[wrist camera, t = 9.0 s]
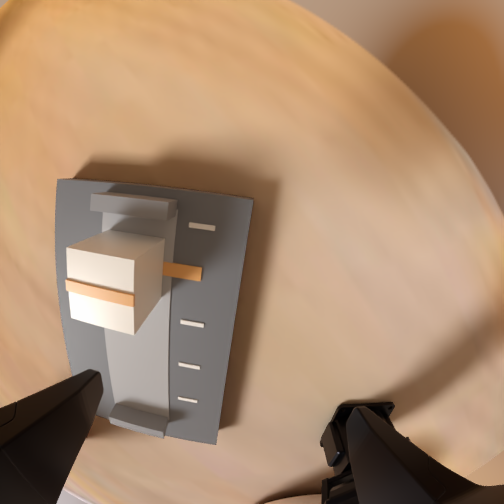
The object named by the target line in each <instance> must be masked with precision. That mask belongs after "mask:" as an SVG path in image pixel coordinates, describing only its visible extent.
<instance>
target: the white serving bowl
mask: <svg viewBox="0 0 504 504" xmlns="http://www.w3.org/2000/svg"><path fill="white" fill-rule="evenodd" d="M321 495H322V494H312V495H302V496H295V497H289V498H284V499H279V500H274V501H271V502H267V503H264V504H321Z"/></svg>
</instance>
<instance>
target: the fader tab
mask: <svg viewBox="0 0 504 504" xmlns="http://www.w3.org/2000/svg"><path fill="white" fill-rule="evenodd" d="M164 246H165V238H160V237H153V236H147V235H140V234H134V233H127V232H121V231H114V230H107V231H105V232H102V233H100V234H97V235H95V236H92V237H90V238H87V239H85V240H83V241H80V242H78V243H75V244H73V245H71V246H68V247H66V256H67V278H68V279H66V280H65V282H66V291H69V302H70V311H71V318H73V319H76V320H80V321H83V322H86V323H90V324H93V325H97V326H100V327H104V328H108V329H111V330H115V331H119V332H123V333H127V334H131V335H135V334H136V332H137V331H138V330H139V328H140V327H141V325H142V324H143V322H144V321H145V320H146V318H147V317H148V315H149V314H150V313H151V311H152V310H153V308H154V307H155V306H156V304H157V303H158V302H159V300H160V299H161V294H162V275H163V259H164Z"/></svg>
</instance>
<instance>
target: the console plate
mask: <svg viewBox="0 0 504 504" xmlns="http://www.w3.org/2000/svg"><path fill="white" fill-rule="evenodd" d="M252 207H253V198H248V197H241V196H235V195H228V194H221V193H214V192H206V191H199V190H191V189H183V188H174V187H166V186H157V185H147V184H137V183H126V182H115V181H103V180H89V179H74V178H70V179H57V191H56V209H55V256H56V274H57V287H58V297H59V306H60V313H61V321H62V327H63V333H64V339H65V344H66V349H67V354H68V359H69V364H70V368H71V372H72V376H74V375H77V374H79V373H81V372H83V371H85V370H87V369H94V370H97V371H99V372H100V373H101V377H102V382H103V388H104V392H103V395H102V398H101V401H100V404H99V406H98V409H97V412H96V415H97V416H100V417H103V418H106V419H109V420H110V424H113V425H116V426H120V427H123V428H126V429H129V430H133V431H136V432H140V433H143V434H147V435H151V436H155V437H159V438H163V439H164V436H170V437H174V438H179V439H184V440H189V441H195V442H201V443H207V444H213V445H216V443H217V436H218V429H219V422H220V415H221V408H222V401H223V395H224V388H225V381H226V375H227V368H228V361H229V355H230V348H231V341H232V335H233V328H234V322H235V315H236V309H237V302H238V296H239V289H240V283H241V276H242V270H243V263H244V257H245V251H246V244H247V238H248V232H249V225H250V219H251V213H252ZM107 230H114V231H121V232H127V233H134V234H140V235H147V236H153V237H160V238H165V246H164V259H163V275H162V294H161V299H160V300H159V302H158V303H157V304H156V306H155V307H154V308H153V310H152V311H151V313H150V314H149V315H148V317H147V318H146V320H145V321H144V322H143V324H142V325H141V327H140V328H139V330H138V331H137V332H136V334H135V335H131V334H127V333H123V332H119V331H115V330H111V329H108V328H104V327H100V326H97V325H93V324H90V323H86V322H83V321H80V320H76V319H73V318H71V311H70V302H69V291H66V282H65V280H66V279H68V278H67V256H66V247H68V246H71V245H73V244H75V243H78V242H80V241H83V240H85V239H87V238H90V237H92V236H95V235H97V234H100V233H102V232H105V231H107Z"/></svg>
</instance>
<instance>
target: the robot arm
mask: <svg viewBox="0 0 504 504" xmlns="http://www.w3.org/2000/svg"><path fill="white" fill-rule="evenodd" d="M103 392H104V388H103V382H102V377H101V373H100V372H99V371H97V370H94V369H87V370H85V371H83V372H81V373H79V374H77V375H74V376H72V377H70V378H68V379H66V380H64V381H61V382H59V383H57V384H55V385H53V386H50V387H48V388H46V389H44V390H41V391H39V392H37V393H35V394H32V395H30V396H28V397H26V398H23V399H21V400H19V401H17V402H14V403H12V404H9V405H7V406H4V407H2V408H0V504H56V503H57V500H58V498H59V496H60V493H61V491H62V489H63V486H64V484H65V482H66V479H67V477H68V475H69V473H70V470H71V468H72V466H73V464H74V462H75V460H76V457H77V455H78V453H79V451H80V449H81V447H82V445H83V443H84V441H85V438H86V436H87V434H88V432H89V430H90V428H91V426H92V423H93V421H94V418H95V415H96V412H97V409H98V406H99V404H100V401H101V398H102V395H103ZM394 407H395V405H394V403H393V402H386V403H371V404H343V405H340V406H338V408H337V409H336V411H335V413H334V415H333V418H332V420H331V421H330V422H329V423H328V425H327V427H326V429H325V431H324V433H323V435H322V437H321V441H320V446H321V447H324V451H325V455H326V459H327V463H328V466H329V467H333V469H334V473H335V476H334V477H331V478H327V479H324V480H322V495H321V504H504V485H496V486H481V485H477V484H475V483H473V482H471V481H469V480H467V479H466V478H464V477H462V476H460V475H458V474H456V473H455V472H453V471H451V470H450V469H448V468H446V467H445V466H443V465H442V464H440V463H439V462H437V461H436V460H435V459H433V458H432V457H430V456H428V454H426V453H425V452H424V451H422V450H421V449H420V448H418V447H417V446H416V445H414V444H413V443H412V442H411V441H410V439H409V437H406V438H405V437H404V436H402V435H401V434H400V433H399V432H397V431H396V430H395V428H394V426H393V424H392V422H391V420H390V418H389V416H390V414H391V412H392V411H393V409H394Z"/></svg>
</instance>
